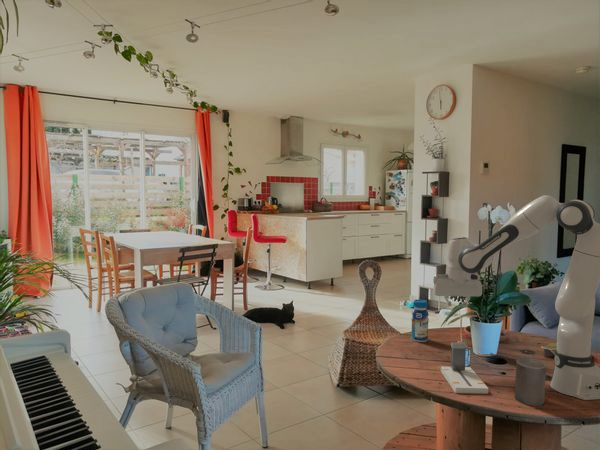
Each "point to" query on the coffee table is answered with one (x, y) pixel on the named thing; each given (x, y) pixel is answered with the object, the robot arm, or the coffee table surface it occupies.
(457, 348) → the fader tab
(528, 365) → the pillar candle
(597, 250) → the robot arm
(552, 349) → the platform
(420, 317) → the beverage bottle
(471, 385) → the board
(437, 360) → the coffee table surface
